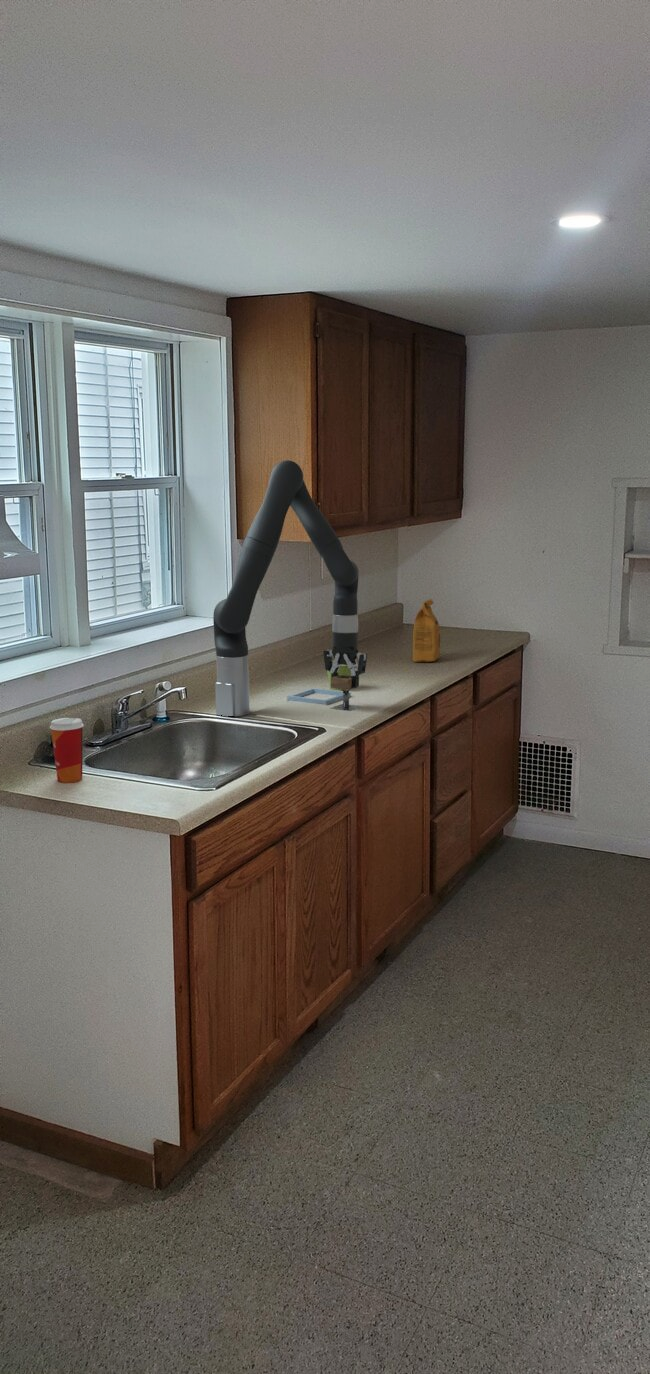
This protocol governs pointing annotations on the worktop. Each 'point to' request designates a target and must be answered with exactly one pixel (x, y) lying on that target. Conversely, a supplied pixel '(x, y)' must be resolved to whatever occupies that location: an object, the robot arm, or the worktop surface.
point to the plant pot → (342, 671)
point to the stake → (346, 703)
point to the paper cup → (67, 748)
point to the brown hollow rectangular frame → (342, 682)
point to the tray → (299, 698)
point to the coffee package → (426, 635)
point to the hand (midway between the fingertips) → (344, 686)
